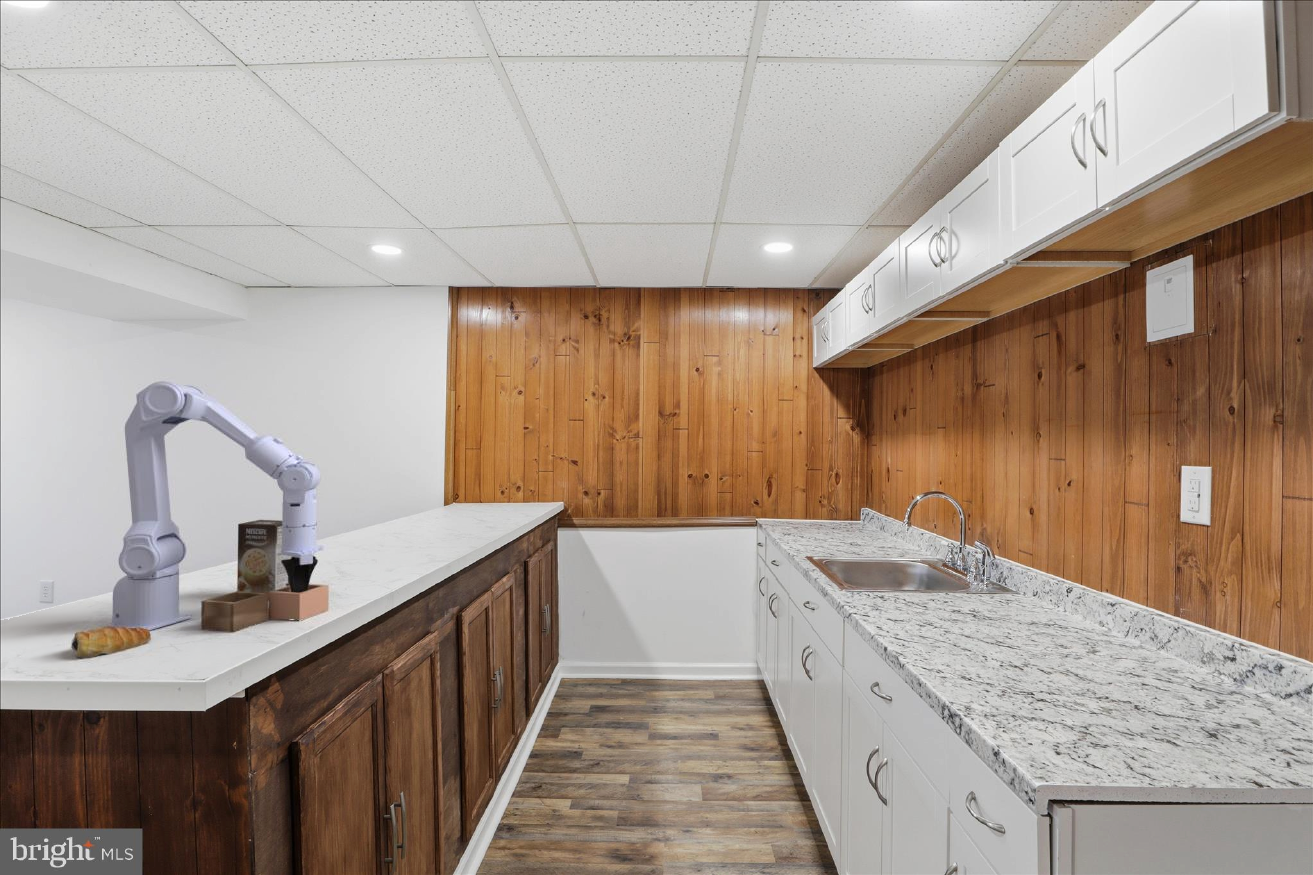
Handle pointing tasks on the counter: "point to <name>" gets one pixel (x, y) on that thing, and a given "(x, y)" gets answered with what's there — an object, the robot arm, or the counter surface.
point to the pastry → (108, 640)
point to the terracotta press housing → (298, 602)
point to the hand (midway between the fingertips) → (299, 595)
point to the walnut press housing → (234, 611)
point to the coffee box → (261, 557)
